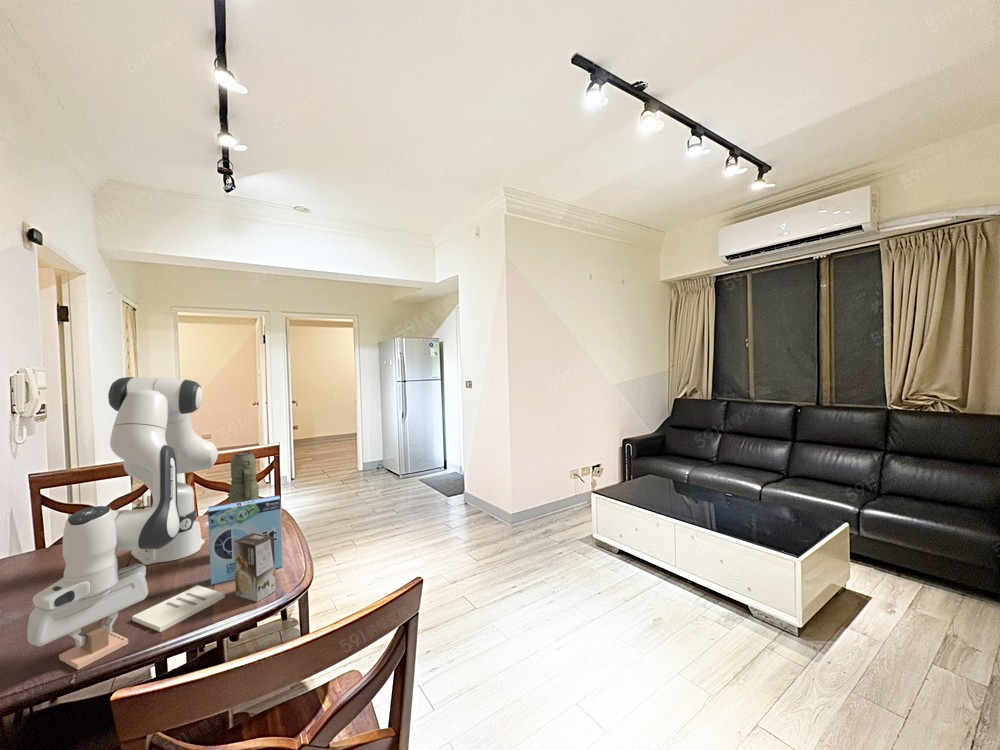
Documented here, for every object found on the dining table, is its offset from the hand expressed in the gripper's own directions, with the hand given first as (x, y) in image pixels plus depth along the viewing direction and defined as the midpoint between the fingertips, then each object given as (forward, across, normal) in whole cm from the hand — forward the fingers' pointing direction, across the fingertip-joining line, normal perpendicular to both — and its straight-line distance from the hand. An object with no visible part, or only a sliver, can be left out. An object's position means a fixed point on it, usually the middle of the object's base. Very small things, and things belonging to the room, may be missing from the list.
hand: (94, 639), depth 95 cm
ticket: (+3, -18, 0) cm, 18 cm away
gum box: (+4, -38, -1) cm, 38 cm away
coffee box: (+3, -31, +12) cm, 34 cm away
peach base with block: (+3, 0, 0) cm, 3 cm away
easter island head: (+4, -48, -16) cm, 51 cm away
